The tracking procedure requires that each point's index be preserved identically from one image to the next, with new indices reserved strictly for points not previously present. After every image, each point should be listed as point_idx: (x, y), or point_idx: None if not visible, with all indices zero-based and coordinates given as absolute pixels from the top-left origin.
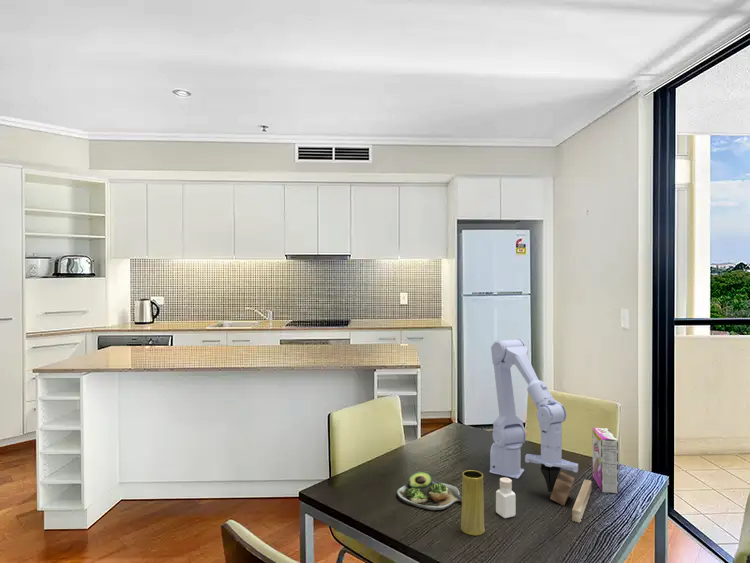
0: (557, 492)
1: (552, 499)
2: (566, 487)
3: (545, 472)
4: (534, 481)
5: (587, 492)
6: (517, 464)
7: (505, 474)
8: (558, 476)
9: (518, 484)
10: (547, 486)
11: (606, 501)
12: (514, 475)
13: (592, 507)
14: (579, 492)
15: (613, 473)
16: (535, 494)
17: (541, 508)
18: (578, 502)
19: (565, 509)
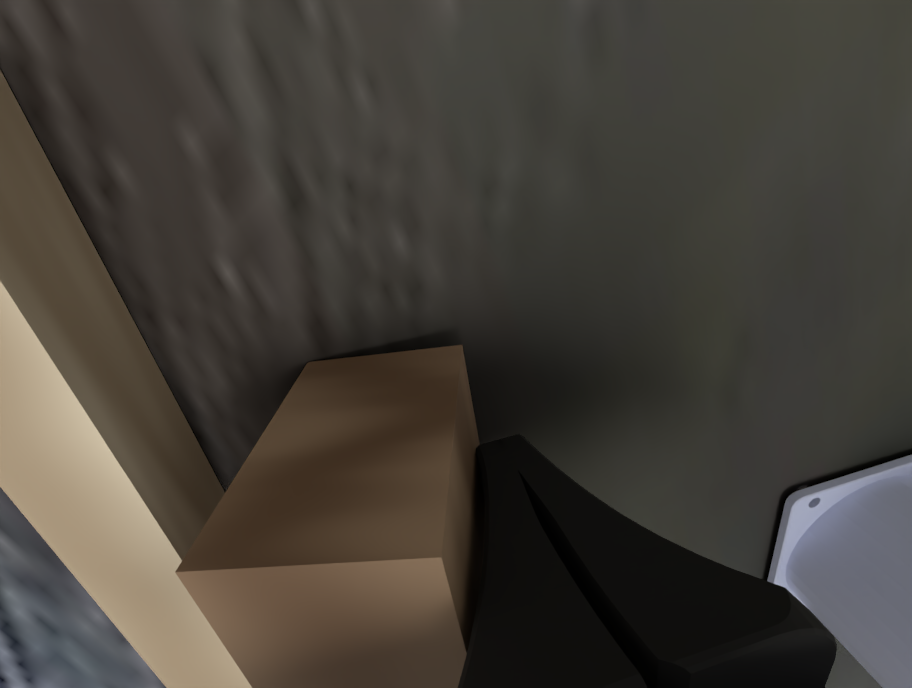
0: (388, 420)
1: (433, 350)
2: (250, 533)
3: (694, 607)
4: None
5: (159, 668)
6: (880, 608)
7: (884, 477)
8: None
9: (770, 429)
10: (548, 460)
11: (89, 684)
12: (821, 510)
13: None
14: None
15: None
16: (615, 376)
17: (472, 122)
18: (12, 388)
19: (255, 303)
